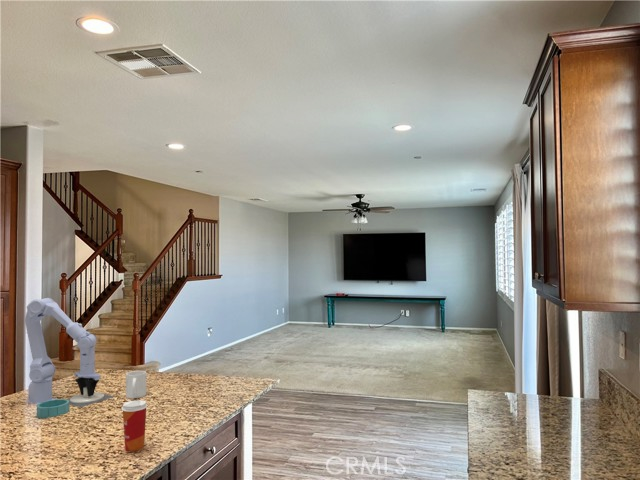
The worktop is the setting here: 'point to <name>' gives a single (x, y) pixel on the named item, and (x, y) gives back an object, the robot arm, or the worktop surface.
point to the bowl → (52, 408)
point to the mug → (136, 384)
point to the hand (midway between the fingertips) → (87, 395)
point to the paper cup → (134, 424)
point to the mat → (91, 402)
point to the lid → (86, 397)
